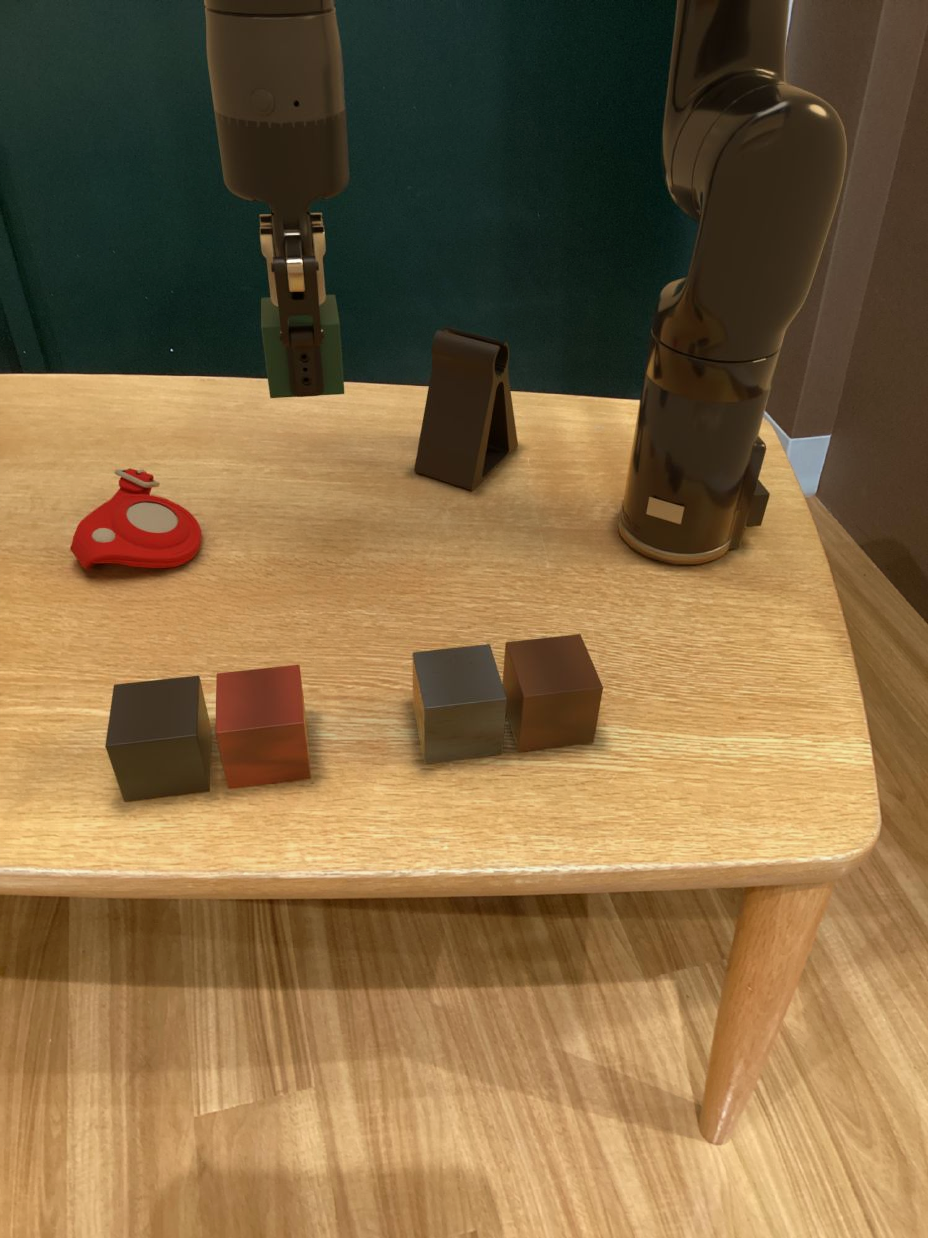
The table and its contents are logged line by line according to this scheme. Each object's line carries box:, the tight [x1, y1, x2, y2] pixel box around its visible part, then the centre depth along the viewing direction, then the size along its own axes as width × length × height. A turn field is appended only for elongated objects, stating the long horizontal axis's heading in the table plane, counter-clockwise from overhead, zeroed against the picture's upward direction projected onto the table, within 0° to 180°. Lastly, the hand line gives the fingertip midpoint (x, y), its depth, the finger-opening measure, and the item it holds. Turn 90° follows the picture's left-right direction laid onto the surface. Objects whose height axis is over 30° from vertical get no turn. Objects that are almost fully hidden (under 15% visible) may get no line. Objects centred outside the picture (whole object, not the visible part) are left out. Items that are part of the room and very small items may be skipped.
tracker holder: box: [69, 468, 202, 570], centre depth 73 cm, size 12×4×10 cm
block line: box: [104, 633, 604, 803], centre depth 57 cm, size 29×5×5 cm, turn 101°
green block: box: [260, 294, 345, 399], centre depth 63 cm, size 5×5×5 cm
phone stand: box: [413, 325, 519, 491], centre depth 81 cm, size 9×6×12 cm, turn 150°
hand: (306, 374), depth 64 cm, fingers closed on green block, 5 cm apart
